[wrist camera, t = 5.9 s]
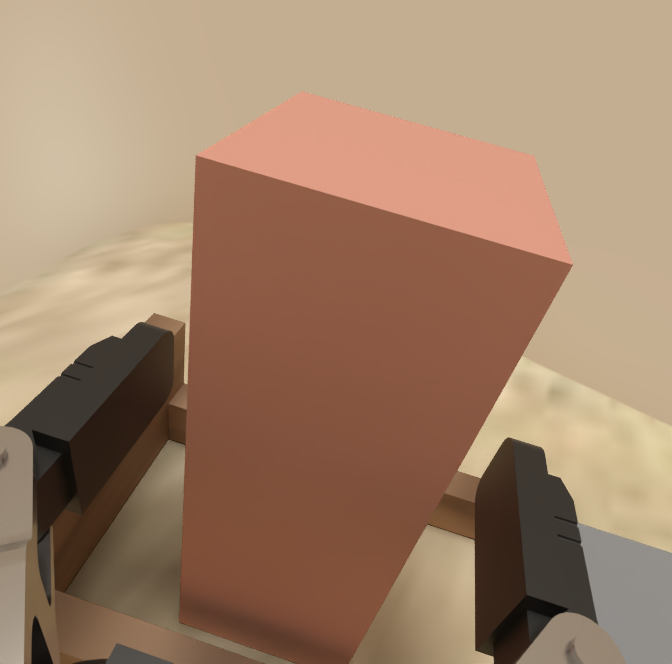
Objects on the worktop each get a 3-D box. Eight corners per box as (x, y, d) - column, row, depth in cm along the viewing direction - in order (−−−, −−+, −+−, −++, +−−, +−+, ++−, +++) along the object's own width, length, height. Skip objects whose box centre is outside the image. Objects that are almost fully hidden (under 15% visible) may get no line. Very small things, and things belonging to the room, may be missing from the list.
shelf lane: (510, 524, 20) (570, 443, 17) (533, 850, 12) (648, 808, 9) (137, 403, 21) (133, 306, 18) (-52, 637, 13) (-114, 537, 10)
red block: (369, 529, 19) (533, 156, 10) (340, 678, 15) (572, 264, 6) (242, 486, 19) (301, 91, 11) (179, 622, 15) (195, 155, 6)
